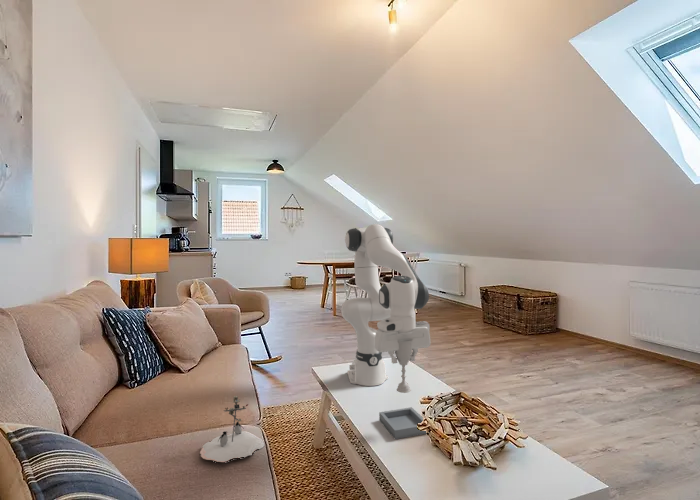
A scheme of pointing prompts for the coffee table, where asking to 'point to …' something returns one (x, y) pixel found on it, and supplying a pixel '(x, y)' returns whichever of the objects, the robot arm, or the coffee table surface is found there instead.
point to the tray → (401, 422)
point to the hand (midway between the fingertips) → (403, 361)
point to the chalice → (403, 363)
